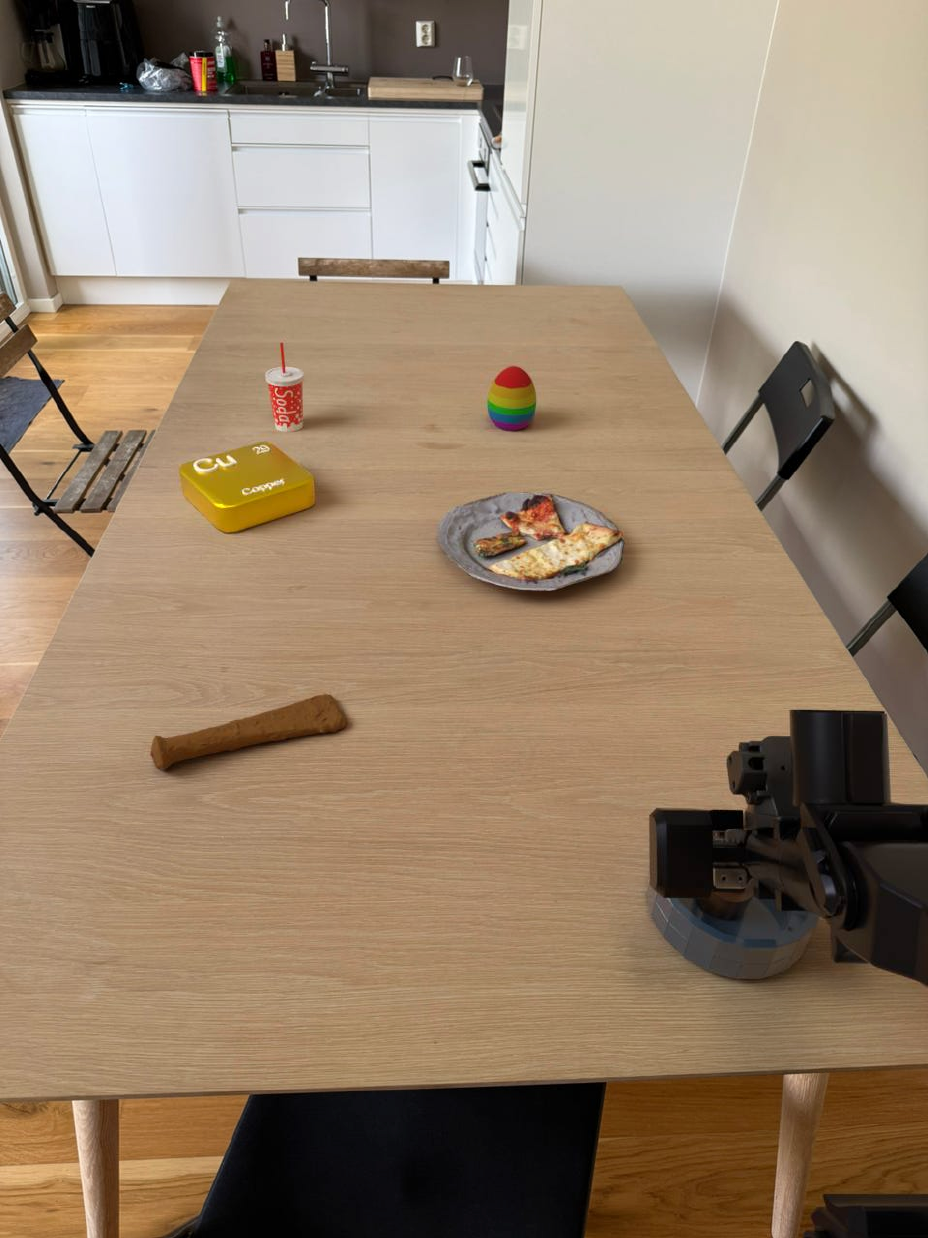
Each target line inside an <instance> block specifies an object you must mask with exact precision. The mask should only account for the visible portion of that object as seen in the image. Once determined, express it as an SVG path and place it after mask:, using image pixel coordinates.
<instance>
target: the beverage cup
mask: <svg viewBox="0 0 928 1238" xmlns="http://www.w3.org/2000/svg"><path fill="white" fill-rule="evenodd" d="M279 348H280V359H281V366H278V367H274V368H273V367H272V368H270V369H269V370H266V372H265V373H264V377H265V382H266V383H267V386H268V392H269V398H270V404H271V410H272V416H273V422H274V428H275V429H276V430H277V431H278V432H279V431H280V432H284V433H294V432H296V431H299V430H301V429H302V428H303V427H304V404H303V403H304V399H303V381H304V380H305V379H304V377H305V374H304V371H303V370H302V369H301V368H298V367H294V366H286V360H285V350H284V342H279Z"/></svg>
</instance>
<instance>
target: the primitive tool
mask: <svg viewBox="0 0 928 1238" xmlns="http://www.w3.org/2000/svg"><path fill="white" fill-rule="evenodd" d="M347 726H348V720H347V718H346V717H345V714H344V712H343V710H342V709H341V707H340V706H339V704H338V702H337V701H336V699H335V698H334V696H333V695H332V694H328V693H324V694H318V695H314V696H311V697H309V698H305V699H303V700H300V701H297V702H294V703H292V704H289V705H285V706H281V707H278V708H276V709H271V710H267V711H263V712H261V713H257V714H255V715H251V716H248V717H244V718H241V719H238V718H237V719H234V720H233V719H232V720H230V721H229V722H227V723H224V724H221V725H216V726H212V727H207V728H202V729H199V730H197V731H193V732H188V733H184V734H179V735H175V736H170V737H169V736H168V737H163V736H161V735H154V737H153V738H152V743H151V746H150V752H149V755H150V757H151V759H152V761H153V764H154V767H155V768H156V769H158V770H159V771H162V772H163V771H166V770H167V769H168V768H169V767H170V766H171V765H172V764H174V763H178V762H181V761H183V760H188V759H194V758H197V757H203V756H205V755H212V754H216V753H221V752H225V751H229V752H234V751H235V750H238V749H240V748H244V747H248V746H253V745H258V744H262V743H268V742H277V741H279V740H282V741H283V740H286V739H292V738H297V737H303V736H311V735H317V734H326V733H328V732H330V733H335V732H337V731H338V730H342V729H344V728H345V727H347Z"/></svg>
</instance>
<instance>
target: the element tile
mask: <svg viewBox="0 0 928 1238" xmlns="http://www.w3.org/2000/svg"><path fill="white" fill-rule="evenodd" d="M178 474H179V479H180V485H181V492H182V495H183V497H185V498H186V499H187V501H189V502H190V504H192V505H193V506H194V507H195V508H196V509H197V510H198V511H199V512H200V513H201V515H203V516H204V517H205V518H206V519H207V520H208V521H209V523H211V524H212V525H213V526H214V527H215V528H216V529H217V530H219V531H221V532H223V533H228V534H230V533H237V532H242V531H244V530H247V529H251V528H254V527H256V526H259V525H262V524H265V523H268V522H269V523H270V522H271V521H275V520H278V519H280V518H281V519H282V518H283V517H287V516H290V515H293V514H296V513H298V512H302V511H305V510H308V509H309V508H311V507H313V506H314V505H315V503H316V490H315V479H314V476H313V474H312V473H311V472H309V470H307V469H305V468H304V467H303V466H302V465H301V464H299V462H297V461H295V460H294V459H293V458H292V457H290V456H289V455H288V454H286V452H284V451H283V450H282V449H280V448H279V447H277V446H276V445H275V444H273V443H270V442H268V441H261V442H256V443H255V442H254V443H252V444H248V445H245V446H241V447H238V448H234V449H231V450H226V451H224V452H223V451H222V452H220V453H216V454H212V455H209V456H205V457H202V458H198V459H195V460H190V461H188V462H185V463H182V464H181V465H180V466H179V467H178Z"/></svg>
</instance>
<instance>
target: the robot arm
mask: <svg viewBox="0 0 928 1238" xmlns="http://www.w3.org/2000/svg"><path fill="white" fill-rule="evenodd" d="M788 713H789V735H769V736H766V737H764V738H762V740H749V741H740V742H739V744H738V750H732V751H731V752H730V753H729V754H728V755H727V757H726V763H725V764H726V770H727V778H728V787H729V791H730V793H731V794H732V795H734V796H743V797H744V799H745V802H746V804H747V806H748V805H753V811H745V810H743V809H714V808H713V809H705V808H704V809H703V808H691V807H690V808H689V807H687V808H686V807H684V808H683V807H656V808H655V809H654V810H653V811H652V812H651V813H650V814H649V815H648V839H649V841H648V847H649V850H648V851H649V857H648V858H649V873H650V886H651V887H652V888H653V889H654V890H655V892H656V893H657V894H659V895H660V896H662V897H663V898H706V899H710V897H711V894H712V891H713V892H745V887H747V886H748V885H749V882H750V880H752V879H753V889H754V897H755V898H757V899H775V901H776V908H777V909H779V910H781V911H809V912H812V913H814V914H816V915H818V916H820V918H822V919H824V920H825V922H826V923H827V925H828V926H829V932H830V933H829V934H830V935H829V936H830V937H829V938H830V957H831V958H830V959H831V961H833V963H834V964H851V965H852V964H853V965H855V964H857V965H858V964H859V965H861V964H863V965H866V964H867V965H871V966H872V967H874V968H876V969H879V970H883V971H886V972H889V973H891V974H894V975H896V976H897V975H898V976H901V977H904V978H907V979H910V980H913V981H915V982H918V983H919V984H920V985H923V986H924V987H926V988H927V989H928V804H926V803H901V802H895V801H892V792H891V771H890V768H891V767H890V746H889V745H890V744H889V743H890V742H889V724H888V723H889V722H888V714H887V713H886V711H885V710H850V709H849V710H848V709H847V710H846V709H845V710H844V709H789V711H788ZM708 810H710V811H708ZM744 812H745V827H746V829H744V821H743V813H744ZM745 866H747V867H746V868H745ZM822 1199H823V1203H824V1205H825V1206H816V1207H815V1208H814V1210H812V1212H811V1214H810V1219H811V1222H812V1224H813V1227H814V1229H808V1230H805V1231H804V1233H803V1234H802V1236H801V1237H802V1238H928V1193H823V1194H822Z"/></svg>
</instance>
